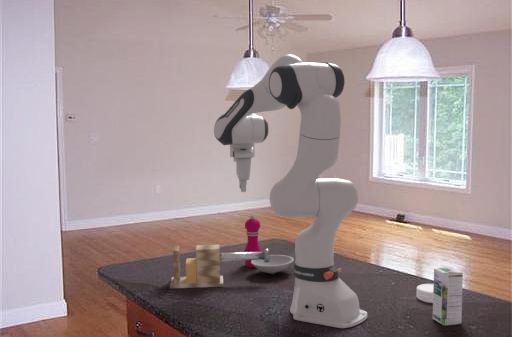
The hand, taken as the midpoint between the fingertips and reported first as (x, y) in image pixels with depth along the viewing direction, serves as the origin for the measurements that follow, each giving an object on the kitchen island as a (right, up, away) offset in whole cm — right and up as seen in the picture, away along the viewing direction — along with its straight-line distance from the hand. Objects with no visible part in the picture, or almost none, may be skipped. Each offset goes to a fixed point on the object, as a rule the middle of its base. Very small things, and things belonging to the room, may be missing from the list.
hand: (242, 190), depth 195 cm
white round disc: (+60, -33, -26) cm, 73 cm away
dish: (+11, -31, +4) cm, 33 cm away
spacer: (-18, -28, -8) cm, 34 cm away
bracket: (-16, -32, -7) cm, 36 cm away
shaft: (-3, -25, -7) cm, 26 cm away
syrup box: (+57, -35, -46) cm, 81 cm away
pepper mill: (+4, -30, +15) cm, 34 cm away
